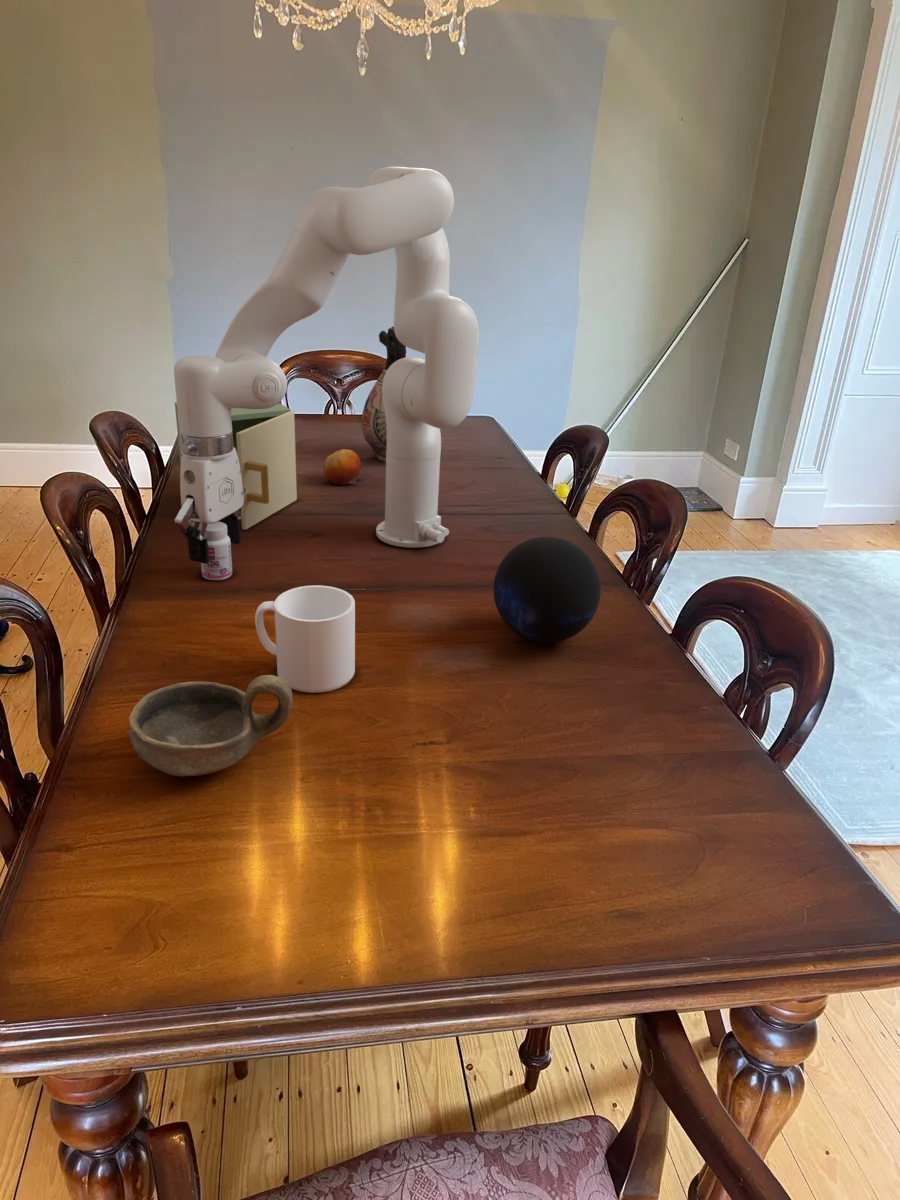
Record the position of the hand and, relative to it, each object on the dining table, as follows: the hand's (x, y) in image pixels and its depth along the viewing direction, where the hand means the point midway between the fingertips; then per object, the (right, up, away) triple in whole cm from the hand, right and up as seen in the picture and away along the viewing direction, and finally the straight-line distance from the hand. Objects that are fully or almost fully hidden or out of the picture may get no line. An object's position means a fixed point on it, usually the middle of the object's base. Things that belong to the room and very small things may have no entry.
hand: (215, 551), depth 132 cm
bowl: (+11, -25, -39) cm, 48 cm away
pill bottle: (0, -4, +2) cm, 4 cm away
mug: (+18, -17, -23) cm, 34 cm away
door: (+5, +8, +26) cm, 28 cm away
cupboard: (-5, +13, +35) cm, 37 cm away
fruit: (+14, +17, +46) cm, 51 cm away
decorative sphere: (+50, -13, -10) cm, 53 cm away
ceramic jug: (+24, +25, +62) cm, 71 cm away
